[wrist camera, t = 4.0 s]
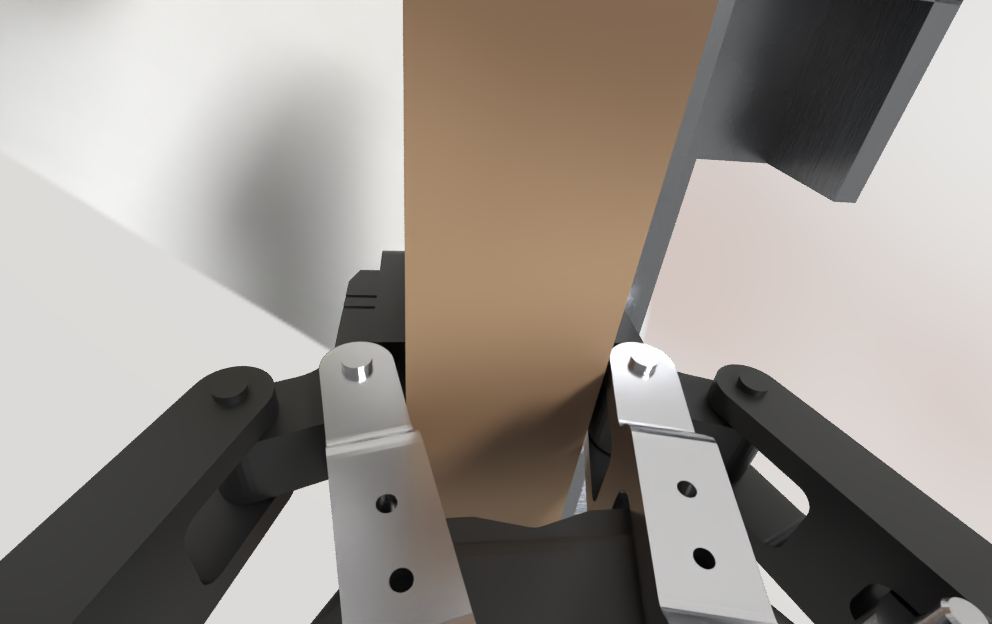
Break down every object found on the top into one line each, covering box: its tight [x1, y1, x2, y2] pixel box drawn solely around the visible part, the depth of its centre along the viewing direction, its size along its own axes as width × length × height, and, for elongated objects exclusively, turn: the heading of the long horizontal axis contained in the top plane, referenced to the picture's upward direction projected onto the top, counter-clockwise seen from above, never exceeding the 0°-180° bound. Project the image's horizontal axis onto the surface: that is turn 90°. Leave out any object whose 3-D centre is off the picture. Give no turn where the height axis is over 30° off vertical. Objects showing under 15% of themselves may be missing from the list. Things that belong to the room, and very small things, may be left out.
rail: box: [403, 0, 719, 528], centre depth 11 cm, size 20×4×5 cm, turn 174°
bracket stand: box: [560, 0, 963, 520], centre depth 23 cm, size 25×7×9 cm, turn 174°
